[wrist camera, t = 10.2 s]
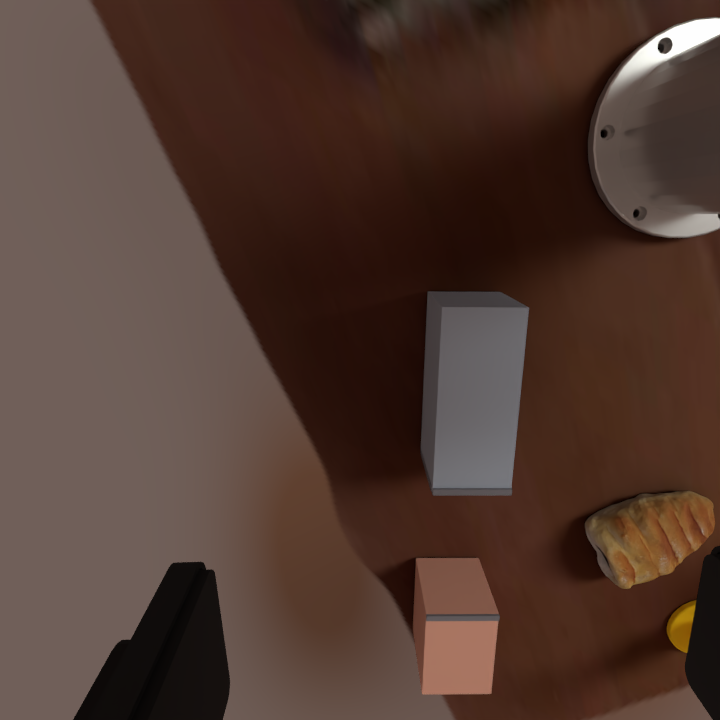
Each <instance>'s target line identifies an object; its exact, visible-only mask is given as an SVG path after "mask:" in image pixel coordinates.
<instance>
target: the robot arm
mask: <svg viewBox="0 0 720 720" xmlns="http://www.w3.org/2000/svg"><path fill="white" fill-rule="evenodd" d="M658 46H659V48H660V52H659V51H658ZM601 130H602V131H603V132H604V137H603V138H602V137H601V133H600V132H601ZM588 162H589V167H590V171H591V176H592V180H593V182H594V185H595V187H596V190H597V192H598V194H599V196H600V198H601V199H602V201H603V202H604V203H605V205H606V206H607V208H608V209H609V210H610V211H611V212H612V213H613V214H614V215H615V216H616V217H617V218H618V219H619V220H620V221H621V222H623V223H624V224H626V225H628V226H630V227H631V228H633V229H635V230H636V231H639V232H642V233H645V234H649V235H652V236H658V237H666V238H689V237H695V236H700V235H705V234H708V233H710V232H713V231H716V230H718V229H720V18H718V17H712V18H701V19H693V20H690V21H687V22H684V23H680V24H677V25H674V26H672V27H670V28H668V29H666V30H664V31H663V32H661V33H659V34H657V35H655V36H654V37H652V38H651V39H649V40H647V41H646V42H644V43H643V44H641V45H640V46H638V47H637V48H636V49H635V50H634V51H633V52H632V53H631V54H630V55H629V56H628V57H627V58H625V59H624V60H623V61H622V62H621V64H620V65H619V66H618V68H617V69H616V70H615V72H614V73H613V74H612V75H611V77H610V78H609V79H608V81H607V83H606V85H605V87H604V89H603V91H602V92H601V94H600V96H599V98H598V101H597V104H596V107H595V109H594V112H593V115H592V118H591V123H590V130H589V136H588ZM634 210H635V211H636V215H635V216H634V217H633V212H634ZM685 672H686V676H687V680H688V682H689V685H690V686H691V688H692V690H693V691H694V693H695V694H696V695H697V697H698V699H699V700H700V701H701V703H702V704H703V706H704V707H705V709H706V710H707V712H708V713H709V715H710V716H711V718H712V719H713V720H720V546H717V547H715V548H714V549H713V550H712V552H711V554H710V555H707V556H706V557H705V558H704V561H703V566H702V572H701V578H700V583H699V589H698V595H697V600H696V606H695V612H694V617H693V623H692V628H691V634H690V640H689V645H688V651H687V657H686V662H685ZM229 688H230V678H229V670H228V662H227V655H226V649H225V642H224V635H223V627H222V620H221V614H220V607H219V599H218V591H217V584H216V578H215V572H214V571H213V570H206V568H205V565H204V563H203V562H187V563H186V562H183V563H173V564H171V566H170V567H169V569H168V571H167V572H166V574H165V576H164V578H163V580H162V582H161V584H160V585H159V587H158V589H157V591H156V593H155V595H154V597H153V599H152V601H151V602H150V604H149V606H148V608H147V610H146V612H145V614H144V616H143V617H142V619H141V621H140V623H139V625H138V627H137V629H136V631H135V633H134V635H133V636H132V638H131V640H121V641H120V642H119V643H117V645H116V646H115V647H114V649H113V650H112V651H111V653H110V655H109V657H108V659H107V661H106V663H105V664H104V666H103V667H102V669H101V671H100V673H99V675H98V677H97V678H96V680H95V682H94V684H93V685H92V687H91V689H90V691H89V692H88V694H87V696H86V698H85V700H84V701H83V703H82V705H81V707H80V709H79V710H78V712H77V714H76V716H75V717H74V719H73V720H223V716H224V713H225V709H226V705H227V701H228V697H229Z"/></svg>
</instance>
